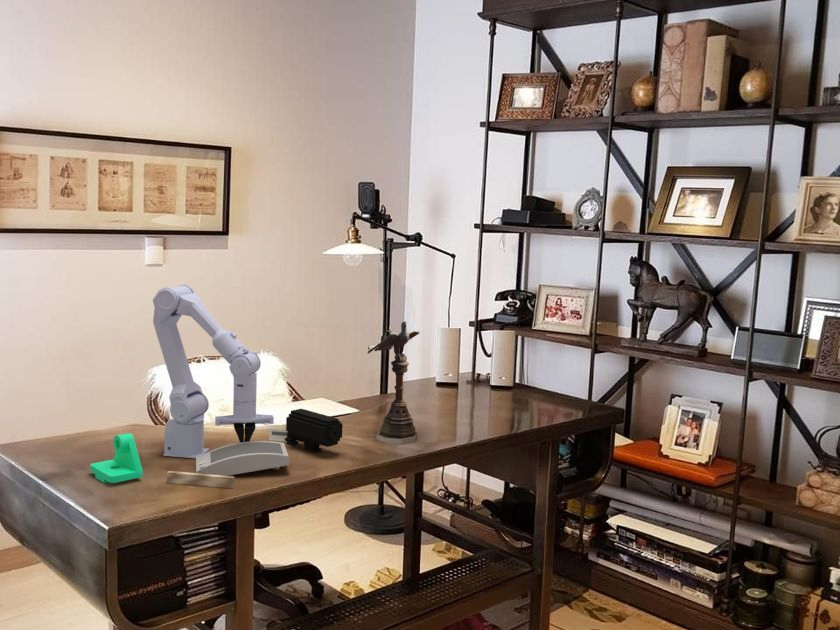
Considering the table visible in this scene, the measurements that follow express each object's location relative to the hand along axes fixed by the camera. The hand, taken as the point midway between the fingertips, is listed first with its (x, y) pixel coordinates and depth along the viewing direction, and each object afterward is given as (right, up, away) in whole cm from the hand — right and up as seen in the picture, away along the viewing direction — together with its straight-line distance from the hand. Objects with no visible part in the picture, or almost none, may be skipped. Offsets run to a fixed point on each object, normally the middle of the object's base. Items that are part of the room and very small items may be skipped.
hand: (244, 451), depth 217 cm
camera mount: (-27, -4, -16) cm, 32 cm away
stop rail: (-6, -5, -19) cm, 21 cm away
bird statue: (+36, -1, +28) cm, 46 cm away
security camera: (+15, -2, +12) cm, 20 cm away
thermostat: (+1, -4, -7) cm, 8 cm away
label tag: (+6, 0, +19) cm, 20 cm away
